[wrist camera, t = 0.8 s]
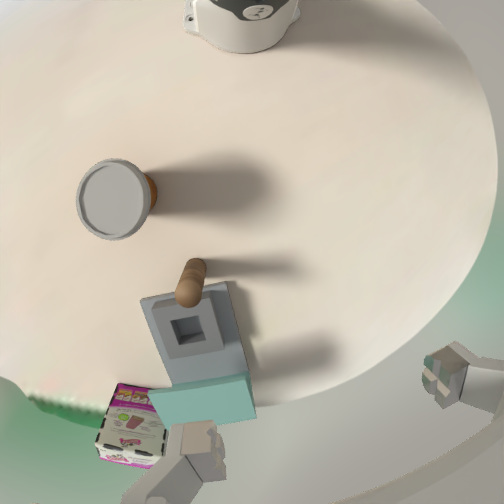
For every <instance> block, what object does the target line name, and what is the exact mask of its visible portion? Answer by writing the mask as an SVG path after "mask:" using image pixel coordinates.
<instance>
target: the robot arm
mask: <svg viewBox="0 0 504 504" xmlns="http://www.w3.org/2000/svg"><path fill="white" fill-rule="evenodd" d="M298 1H299V0H185V6H184V17H183V30H184V31H185V32H187V33H190V34H194V35H198V36H200V37H202V38H204V39H205V40H206V41H208V42H209V43H210V44H212V45H213V46H215V47H217V48H219V49H222V50H225V51H228V52H234V53H253V52H258V51H262V50H265V49H267V48H269V47H271V46H273V45H275V44H276V43H277V42H278V41H279V40H280V39H281V38H282V37H283V36H284V34H285V32H286V30H287V28H288V27H289V25H290V24H292V23H293V22H295V21H296V20H297V19H299V17H300V14H301V11H300V9H299V8H298V6H297V4H298ZM190 19H193V20H192V21H189V20H190ZM424 365H425V366H426V368H425V370H424V371H423V373H422V382H423V386H424V388H425V389H426V391H427V392H428V393H429V394H433V395H435V401H436V402H437V403H438V404H439V405H440V406H441V407H442V409H444V408H446V407H448V406H450V405H452V404H454V403H456V402H457V401H459V400H460V402H463V403H465V404H468V405H471V406H474V407H476V408H479V409H482V410H485V411H488V412H491V413H493V414H494V417H493V419H492V421H491V423H490V424H489V425H488V426H486V427H485V428H484V429H482V430H481V431H479V432H478V433H476V434H475V435H473V436H472V437H470V438H469V439H468V440H466V441H464V442H463V443H461V444H460V445H458V446H457V447H455V448H453V449H452V450H450V451H448V452H447V453H445V454H443V455H442V456H440V457H438V458H436V459H434V460H433V461H431V462H429V463H427V464H425V465H423V466H421V467H419V468H417V469H415V470H413V471H411V472H409V473H407V474H405V475H403V476H401V477H399V478H397V479H395V480H392V481H390V482H388V483H385V484H383V485H380V486H378V487H375V488H373V489H370V490H368V491H365V492H363V493H360V494H357V495H354V496H351V497H348V498H345V499H343V500H339V501H336V502H333V503H330V504H504V360H497V359H491V358H485V357H482V358H478V357H477V356H476V355H474V354H473V353H472V352H471V351H469V350H468V349H467V348H465V347H464V346H463V345H461V344H460V343H459V342H456V341H454V342H452V343H450V344H448V345H446V346H445V347H443V348H441V349H439V350H437V351H435V352H433V353H431V354H428V355H426V357H425V359H424ZM224 458H225V448H224V443H223V440H222V437H221V435H220V434H219V433H217V427H216V424H215V422H214V420H205V421H196V422H187V423H179V424H172V425H171V427H170V432H169V438H168V444H167V450H166V456H165V457H161V458H160V459H159V460H158V461H157V462H156V463H155V464H154V465H153V466H152V467H151V468H150V469H149V470H148V471H147V472H146V473H145V474H144V475H143V476H142V477H141V478H140V479H138V481H136V482H135V483H134V484H133V485H132V486H131V487H130V488H129V489H128V490H127V491H126V492H125V493H124V494H123V495H122V499H121V504H190V503H191V502H192V500H193V499H194V497H195V496H196V494H197V493H198V491H199V489H200V488H201V486H202V485H203V483H204V482H213V481H220V480H226V466H225V464H224V462H223V459H224ZM32 504H38V503H32Z"/></svg>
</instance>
